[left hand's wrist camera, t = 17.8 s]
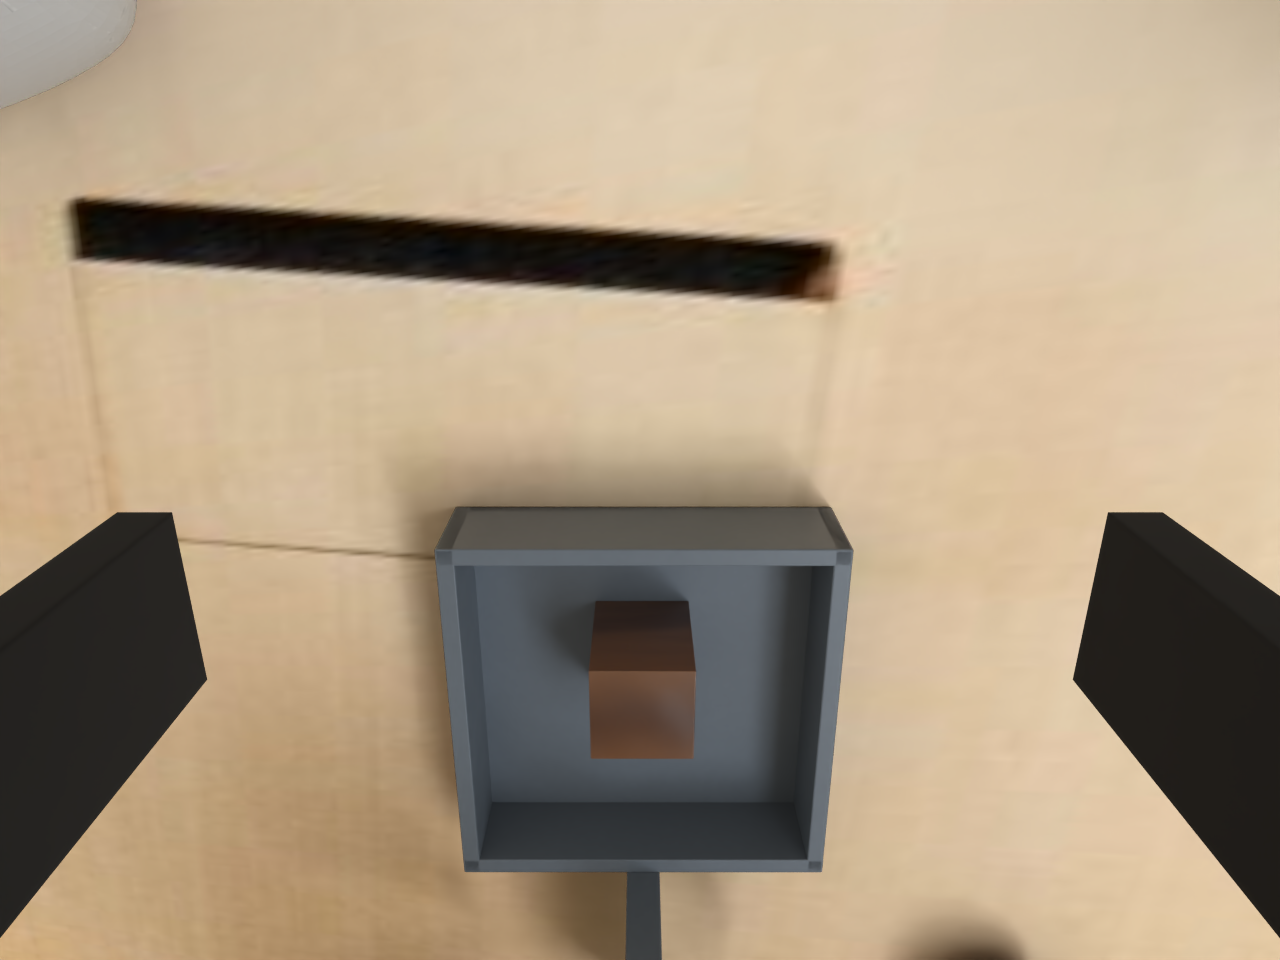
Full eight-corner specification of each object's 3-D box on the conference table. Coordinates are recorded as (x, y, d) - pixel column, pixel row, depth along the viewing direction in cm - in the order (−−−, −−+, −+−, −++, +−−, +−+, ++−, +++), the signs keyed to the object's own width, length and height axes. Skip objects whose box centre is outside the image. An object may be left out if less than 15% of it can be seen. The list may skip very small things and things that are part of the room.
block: (595, 600, 42) (588, 671, 37) (688, 600, 42) (696, 671, 37) (596, 680, 44) (590, 759, 38) (686, 680, 44) (693, 759, 38)
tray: (455, 506, 41) (401, 614, 32) (831, 506, 41) (888, 614, 32) (494, 980, 52) (463, 1163, 43) (790, 980, 52) (823, 1163, 43)
